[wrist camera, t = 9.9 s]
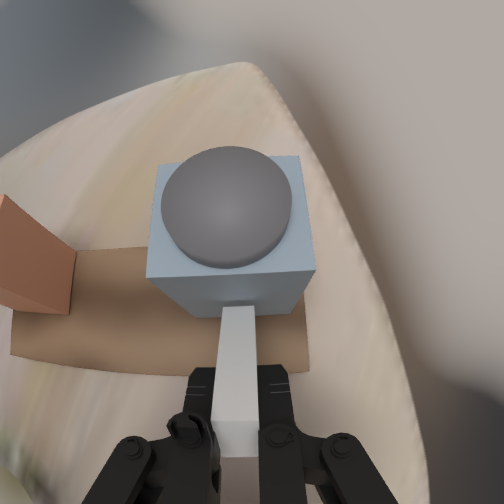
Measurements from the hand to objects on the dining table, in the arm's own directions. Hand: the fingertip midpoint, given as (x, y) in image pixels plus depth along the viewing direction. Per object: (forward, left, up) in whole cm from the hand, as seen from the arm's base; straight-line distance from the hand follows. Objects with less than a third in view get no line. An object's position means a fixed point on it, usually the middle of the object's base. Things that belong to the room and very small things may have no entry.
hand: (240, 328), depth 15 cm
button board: (-8, -3, -6) cm, 10 cm away
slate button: (-2, +3, -4) cm, 5 cm away
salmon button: (-15, -6, -4) cm, 17 cm away
